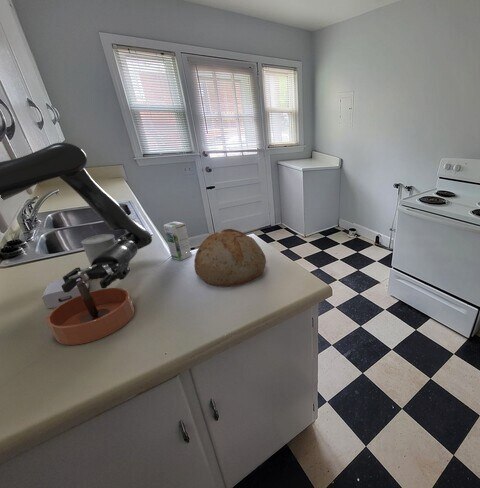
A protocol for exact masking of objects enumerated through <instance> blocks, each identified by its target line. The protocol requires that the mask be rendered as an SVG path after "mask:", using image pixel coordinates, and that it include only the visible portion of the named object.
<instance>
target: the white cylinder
mask: <svg viewBox="0 0 480 488" xmlns="http://www.w3.org/2000/svg"><path fill="white" fill-rule="evenodd" d="M115 242H116V238H115V235H114V234H112V233H103V234H102V233H101V234H96V235H92V236H88V237H86V238H84V239H82V240H80V244H81V245H82V249H83V250H84V252H85V255H86V257H87V260H88V262H89V265H90V266H91V265H92V262H93V260H94V259H95V258H96V257H97V256H98V255H99V254H101V253H102V252H103V251H104V250H106V249H107V248H109V247H111V246H112V245H113V244H115Z"/></svg>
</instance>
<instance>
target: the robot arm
mask: <svg viewBox="0 0 480 488" xmlns="http://www.w3.org/2000/svg"><path fill="white" fill-rule="evenodd" d="M87 164H88V156H87V154H86V153H85V151H84V150H83V149H82V148H81V147H79V146H77V145H75V144H72V143H69V142H64V141H63V142H54V143H51V144H49V145H48V146H45V147H43V148H41V149H38V150H36V151H34V152H31V153H28V154H26V155H23V156H19V157H17V158H12V159H8V160H7V159H6V160H2V161H0V195H1V198H2V199H3V201H5V200H8V199H10V198H12V197H14V196H16V195H19V194H21V193H23V192H25V191H26V190H29V189H30V188H32V187H34V186H36V185H38V184H40V183H44V182H46V181H49V180H54V179H56V178H60V179H61V180H62V181H63V182H64V183H65V184H67V186H68V187H70V188H71V189H72V190H73V191H75V193H77V194H78V196H80V197H81V198H82V199H83V201H84V202H85V203H86V204H87V205H88V206H89V207H90V208H91V209H92V210H93V212H94V213H95V214H96V215H97V216H98V217H99V218H100V219H101V221H102V222H103V223H104V224H105V225H106V227H108V228H109V229H110V230H111V231H113V232H116V231H122V230H123V231H124V230H125V231H126V233H123V234H122V235H120V236H119V237H117V238H116V239H115V241H116V242H115V244H113V245H112V246H111V247H109V248H107V249H106V250H104V251H103V252H102V253H101V254H99V255H98V256H97V257H96V258H95V259H94V260H93V262H92V265H90V266H88V267H86V268H84V269H81V267H80V266H79V267H75V268H73V269H72V270H71V271H70V272H69V271H68V273H66V274H65V275H63V276H62V279H63V280H64V282H65V283H64V284H63V285H62V286H61V287H62V289H63V291H64V292H65V293H66V292H70V291H71V290H72V289H73V288H74V287H75V286H76V285H77V283H78V282H80V281H84V282H85V283H87V282H88V283H89V282H92V281H94V280H99V279H100V280H99V285H100V289H106V288H107V287H109V286H110V285H111V284H113V283H114V282H116V281H117V280H119V281H122V280H124V279H125V278H126V277H127V276H128V274H129V273H130V272H131V268H130V265H129V264H130V262H131V260H132V259H133V258H134V257H135V256H136V255H137V253H138V250H141V249H144V248H145V247H147V246H150V245H151V243H153V236H152V234H151V233H150V231H149V230H148V229H147V228H145V227H144V226H143V225H141V224H139V223H138V222H137V221H135V220H134V218H132V217H130V216H129V215H128V214H127V212H126V211H125V210H124V209H123V207H121V205H120V204H119V203H118V202H117V201H116V200H115V199H114V198H113V197H112V196H111V195H109V193H107V192H106V191H105V190H104V189H103V188H101V187H100V185H98V184H97V183H96V182H95V180H94V179H93V178H92V177H91V175H90V174H89V173H88V172H87V170H86V166H87ZM85 276H86V278H85ZM79 278H80V280H79V281H76V280H77V279H79Z"/></svg>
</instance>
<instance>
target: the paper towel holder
mask: <svg viewBox="0 0 480 488" xmlns="http://www.w3.org/2000/svg"><path fill="white" fill-rule="evenodd" d="M77 287H78V290H79V292H80V294H81V296H82V299H83V301H84V303H85V305H86V308H87V310H88V312H89V313H88V314H86V315H85V316H83V317H82V318H81V320H80V323H81V324H82V323H86V322H90V321H92V320H95V319H98V318H100V317H103V316H104V315H106V314H108V313H110V311H109V310H108V309H99V310H97V308H96V306H95V304H94V301H93V299H92V297H91V294H90V292H91V291H90V290H89V287H87V285H86V283H85V282H84V281H80V282H78V283H77Z"/></svg>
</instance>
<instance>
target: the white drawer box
mask: <svg viewBox="0 0 480 488" xmlns="http://www.w3.org/2000/svg"><path fill="white" fill-rule="evenodd" d="M84 276H85V278H86V279H87V275H84ZM79 280H80V278H79V279H77V280H76V281H79ZM64 283H65V282H64V280H63V278H62V279H57V280H54V281H51V282H49V283H48V284H47V286H46V288H45V290H44V292H43V294H42V296H41V300H42V302H43V304H44V305H45V307H46V308H47V309H55V308H56V307H57V306H59V305H61V304H62V303H64V302H66V301H68V300H69V299H72V298H74V297H76V296H79V295H81V294H80V292H79V290H78V287H77V285H76V286H75V287H74V288H73V289H72V290H71V291H70V292H66V293H65V292H64V291H63V289H62V287H61V286H62V285H63V284H64ZM86 285H87V287H88V288H89V286H90V283H89V282H87V283H86Z"/></svg>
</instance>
